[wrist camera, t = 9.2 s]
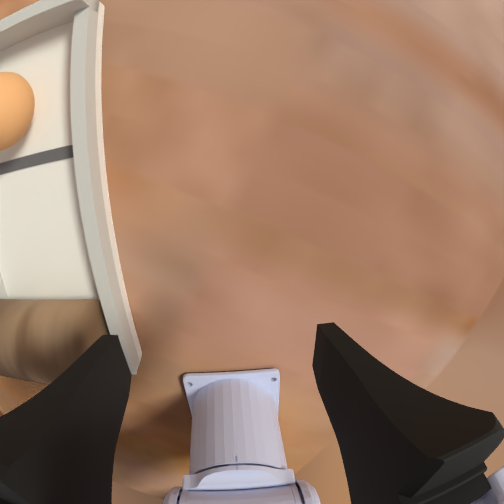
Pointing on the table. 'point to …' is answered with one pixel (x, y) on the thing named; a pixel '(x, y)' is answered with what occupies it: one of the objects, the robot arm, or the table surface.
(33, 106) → the ball
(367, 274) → the table surface
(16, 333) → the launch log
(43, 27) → the lane
